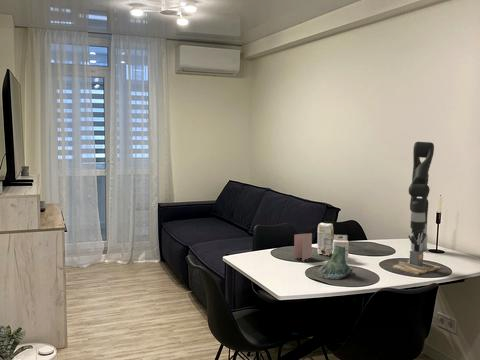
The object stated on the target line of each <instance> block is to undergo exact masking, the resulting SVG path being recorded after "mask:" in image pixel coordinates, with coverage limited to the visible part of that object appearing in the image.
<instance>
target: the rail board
mask: <svg viewBox="0 0 480 360" xmlns="http://www.w3.org/2000/svg"><path fill="white" fill-rule="evenodd" d="M392 268H394V269H396V268H397V270H399V269H400V271H403V272H407V273H409V274H413V275H417V276H418V275H421V274H425V273H428V272H433V271H436V270H440V269H441V266H438V265H434V264H431V263H426V262H423V267H419V266H416V265H412V264H410V258H409V259H407V262H404V261H398V264H394V265H392Z"/></svg>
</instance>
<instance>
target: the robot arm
mask: <svg viewBox="0 0 480 360" xmlns="http://www.w3.org/2000/svg"><path fill="white" fill-rule="evenodd" d="M412 150H413V152H412V153H413V154H412V157H413V161H412V163H413V164H412V165H413V167H412V176H411V183H410V185H409V186H408V194H409V196H410V202H409V209H410V226H409V227H410V229H411V232H410V233H411V234H410V235H408V238H409V241H410V249H411V251H412V250H414V251H417V252H418V251H423V252H424V251H427V250H428V213H429V199H428V196H429V194H430V189H431V188H430V186H429V185H428V184H429V177H430V174H429V171H430V168H431V167H430V166H431V164H432V161H433V157H434V153H435V152H434V151H435V145H434V143H433V142H429V141H416V142H415V143H414V145H413V149H412ZM421 158H424V160H423V161H421Z"/></svg>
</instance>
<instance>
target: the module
mask: <svg viewBox="0 0 480 360" xmlns="http://www.w3.org/2000/svg"><path fill="white" fill-rule="evenodd" d="M409 259H410V264H412V265H416V266H419V267H423V263H424V251H418V252H417V251H414V250H412V249H411V250H410V251H409Z"/></svg>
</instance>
